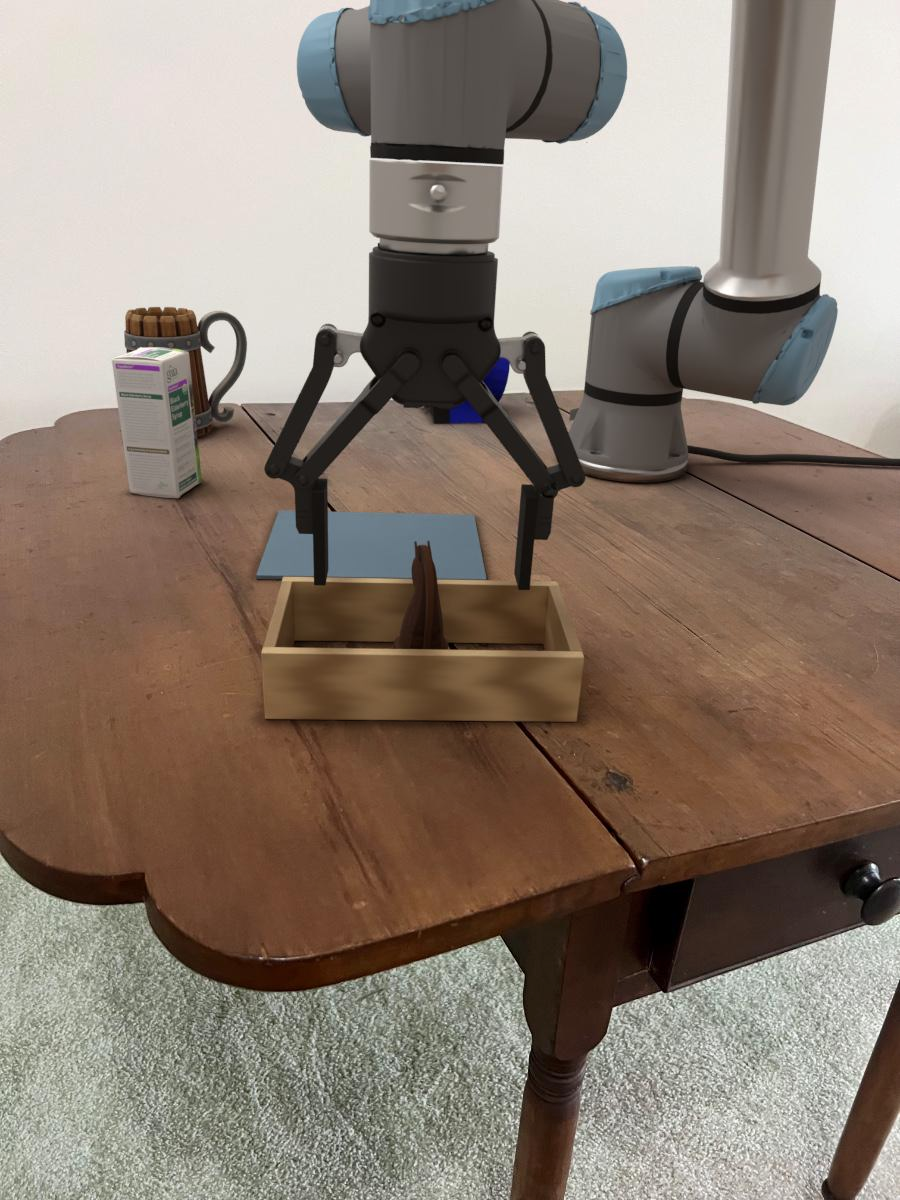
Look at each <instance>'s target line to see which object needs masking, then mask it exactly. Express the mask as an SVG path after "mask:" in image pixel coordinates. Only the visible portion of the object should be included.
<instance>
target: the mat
mask: <svg viewBox="0 0 900 1200" xmlns="http://www.w3.org/2000/svg"><path fill="white" fill-rule="evenodd" d="M415 541H416V542H417V546H418V545H427V541H429V542H430V547H431V553H432V560H433V562H434V565H435V568H436V574H437V579H439V580H488V579H487V575H486V569H485V564H484V559H483V554H482V548H481V543H480V537H479V533H478V527H477V521H476V517H475V514H459V513H458V514H455V513H418V512H417V513H416V512H415V513H413V512H372V511H371V512H366V511H365V512H363V511H328V575H327V577H328V578H384V579H412V571H411V568H412V563H413V560H414V558H415V543H414V542H415ZM427 547H428V545H427ZM263 551H264V552H263V553H262V557H261V561H260V562H259V566H258V568H257V570H256V571H257V572H256V574H255V579H256V580H278V581H279V580H281V581H282V579H283V577H314V560H313V534H299V533H298V530H297V528H296V517H295V510H283V509H282V510H280V509H279V510H278V511H277V515H276V518H275V521H274V523H273V526H272V529H271V532H270V534H269V537H268V540H267V542H266V546H265V548H264V550H263Z"/></svg>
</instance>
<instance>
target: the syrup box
mask: <svg viewBox="0 0 900 1200" xmlns="http://www.w3.org/2000/svg"><path fill="white" fill-rule="evenodd" d="M111 364H112V365H111V366H112V374H113V379H114V387H115V394H116V401H117V409H118V416H119V417H118V418H119V425H120V433H121V439H122V445H123V451H124V461H125V467H126V468H125V469H126V474H127V483H128V489H129V492H130V493H131V494H135V495H140V496H147V497H156V498H157V497H158V498H166V499H179V498H181V496H183V495H184V494H185V493H187V492H188V491H190V490H191V489H193V488H194V487H196V486H198V485H200V484H201V483H202V481H203V478H202V477H203V476H202V469H201V460H200V448H199V438H197V428H196V418H195V408H194V398H193V389H192V379H191V369H190V358H189V352H188V351H185V350H180V349H173V348H162V347H148V348H142V347H140V348H138V349H137V350H135V351H132V352H129V353H127V352H126V353H124V354H122V355H117V356H114V357H113V358H111Z"/></svg>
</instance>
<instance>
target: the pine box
mask: <svg viewBox="0 0 900 1200" xmlns="http://www.w3.org/2000/svg"><path fill="white" fill-rule="evenodd" d="M437 584H438V592H439V598H440V605H441V611H442V619H443V633H444V638H446V640H447V641H448V644H449V643H450V644H456V643H457V644H510V645H511V644H512V645H513V644H516V645H517V644H518V645H519V644H520V645H521V644H523V645H543V647H544V650H510V649H509V650H505V649H503V650H499V649H497V650H496V649H448V650H435V649H394V648H360V647H359V648H357V647H356V648H354V647H353V648H352V647H351V648H349V647H343V648H342V647H295V646H294V645H295V641H298V642H299V641H300V642H301V641H302V642H303V641H305V642H306V641H307V642H309V641H311V642H312V641H313V642H375V643H376V642H377V643H378V642H381V643H394V641H395V639H396V638H397V637H398V636H400V630H401V626H402V622H403V619H404V616H405V613H406V610H407V608H408V606H409V603H410V601H411V599H412V596H413V594H414V591H415V587H414V585H413V580H412V579H384V578H328V577H327V580H326V585H325V586H322V585H314V577H283V579H282V580H281V583H280V587H279V590H278V593H277V596H276V600H275V604H274V607H273V610H272V614H271V618H270V620H269V621H270V622H269V624H268V628H267V632H266V635H265V638H264V641H263V645H262V649H261V653H260V658H261V672H262V675H261V676H262V691H263V707H264V719H265V720H327V721H329V720H333V721H334V720H335V721H336V720H337V721H339V720H340V721H341V720H343V721H345V720H346V721H351V720H352V721H434V722H435V721H441V722H442V721H445V722H453V721H454V722H455V721H456V722H541V723H542V722H543V723H544V722H547V723H550V722H555V723H556V722H557V723H560V722H561V723H563V722H565V723H577V721H578V713H579V705H580V698H581V689H582V688H581V687H582V681H583V680H582V679H583V673H584V663H585V655H584V652H583V648H582V646H581V643H580V641H579V638H578V635H577V632H576V629H575V627H574V624H573V620H572V618H571V615H570V613H569V610H568V607H567V604H566V601H565V599H564V596H563V593H562V590H561V588H560V584H559V582H558V581H549V580H546V581H544V580H543V581H541V580H540V581H539V580H531V581H530V590H518V586H517V582H516V580H493V579H491V580H488V579H487V580H439V579H437Z"/></svg>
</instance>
